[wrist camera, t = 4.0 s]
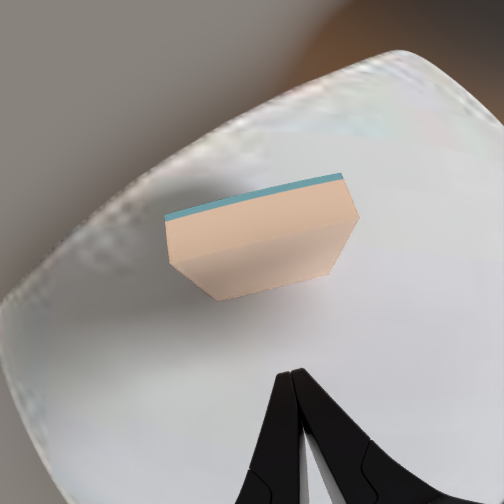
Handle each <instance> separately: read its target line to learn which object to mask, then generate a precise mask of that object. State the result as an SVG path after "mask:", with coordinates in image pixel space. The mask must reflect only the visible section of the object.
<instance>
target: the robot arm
mask: <svg viewBox="0 0 504 504" xmlns="http://www.w3.org/2000/svg"><path fill="white" fill-rule="evenodd" d="M302 424H303V425H302ZM303 428H304V430H303ZM304 432H305V435H306V438H307V440H308V443H309V445H310V448H311V450H312V453H313V456H314V458H315V461H316V463H317V466H318V468H319V471H320V473H321V476H322V478H323V481H324V483H325V486H326V488H327V491H328V493H329V496H330V498H331V501H332V503H333V504H483V503H478V502H473V501H469V500H464V499H460V498H456V497H452V496H449V495H447V494H444V493H442V492H440V491H438V490H436V489H435V488H433V487H431V486H430V485H428V484H427V483H425V482H424V481H422V480H421V479H419V478H418V477H417V476H415V475H414V474H412V473H411V472H409V471H408V470H406V469H405V468H404V467H402V466H401V465H400V464H398V463H397V462H396V461H395V460H393V459H392V458H391V457H390V456H389V455H388V454H386V453H385V452H384V451H383V450H382V449H381V448H380V447H379V446H378V445H377V444H376V443H375V442H374V441H373V440H370V437H369V436H368V435H367V434H366V433H365V432H364V431H363V430H362V429H361V428H360V427H359V426H358V425H357V424H356V423H355V422H354V421H353V420H352V419H351V418H350V417H349V416H348V415H347V413H346V412H345V411H344V410H343V409H342V408H341V407H340V406H339V405H338V404H337V403H336V402H335V401H334V400H333V399H332V398H331V397H330V396H329V395H328V393H327V392H326V391H325V390H324V389H323V388H322V387H321V386H320V385H319V384H318V383H317V382H316V381H315V379H314V378H313V377H312V376H311V375H310V374H309V373H308V372H307V371H306V370H305V369H304V368H299V369H295V370H292V371H291V373H290V372H289V371H287V372H283V373H279V374H277V375H276V378H275V382H274V386H273V389H272V393H271V396H270V400H269V403H268V407H267V410H266V414H265V417H264V421H263V424H262V427H261V431H260V434H259V437H258V441H257V444H256V447H255V450H254V453H253V457H252V460H251V463H250V466H249V470H248V472H247V475H246V478H245V481H244V483H243V486H242V488H241V491H240V493H239V496H238V498H237V500H236V502H235V504H309V490H308V475H307V461H306V448H305V436H304Z"/></svg>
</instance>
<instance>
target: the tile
mask: <svg viewBox="0 0 504 504" xmlns="http://www.w3.org/2000/svg"><path fill="white" fill-rule="evenodd" d="M164 216H165V226H166V236H167V246H168V254H169V263H170V264H171V265H172V266H173V267H174V268H176V269H177V270H178V271H179V272H181V273H182V274H183V275H184V276H186V277H187V278H188V279H189V280H191V281H192V282H193V283H194V284H196V285H197V286H198V287H199V288H201V289H202V290H203V291H205V292H206V293H207V294H208V295H210V296H211V297H212V298H214V299H215V300H216V301H222V300H226V299H231V298H235V297H240V296H244V295H248V294H253V293H257V292H261V291H265V290H269V289H273V288H278V287H282V286H286V285H290V284H294V283H298V282H302V281H306V280H310V279H313V278H317V277H321V276H325V275H329V273H330V272H331V270H332V268H333V266H334V265H335V263H336V261H337V259H338V257H339V255H340V254H341V252H342V250H343V248H344V246H345V244H346V243H347V241H348V239H349V237H350V235H351V233H352V231H353V229H354V227H355V225H356V223H357V222H358V220H359V215H358V212H357V210H356V207H355V205H354V202H353V200H352V198H351V195H350V193H349V190H348V188H347V186H346V183H345V181H344V179H343V176H342V174H341V173H337V174H331V175H326V176H321V177H317V178H312V179H307V180H302V181H298V182H293V183H288V184H284V185H279V186H275V187H271V188H266V189H262V190H258V191H254V192H249V193H245V194H241V195H237V196H233V197H229V198H225V199H221V200H218V201H214V202H210V203H206V204H202V205H199V206H195V207H191V208H188V209H184V210H180V211H177V212H173V213H170V214H166V215H164Z"/></svg>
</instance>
